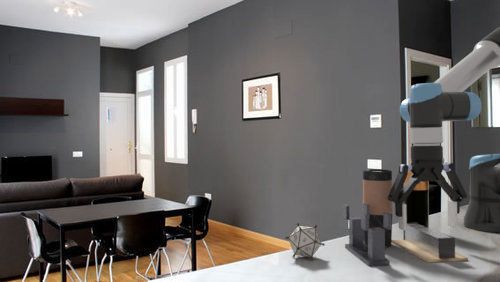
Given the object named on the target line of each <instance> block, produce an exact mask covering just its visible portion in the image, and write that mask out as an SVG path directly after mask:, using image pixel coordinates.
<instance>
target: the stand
mask: <svg viewBox="0 0 500 282" xmlns="http://www.w3.org/2000/svg"><path fill="white" fill-rule="evenodd" d="M360 213H361V214H360V216H355V217H353V216H351V217H350V205H348V204H346V203H344V204H343V205H342V214H343V215H342V218H343V219H345V220H347V221H348V243H344V248H345V249H346V250H347V251H349V252H350V253H351V254H353V255H354V256H355V257H356V258H358V259H359V260H360V261H362V262H363V263H364V264H365V265H366V266H368V267H377V266H380V267H381V266H390V265H391V263H390V262H391V261H390V260H389V259H388V258H386V247H385V230H384V229H382V228H380V227H379V228H369V219H370V205H368V204H363V203H362V212H360ZM383 227H384V228H386V229H388V230H393V224H392V225H391V214H390V213H387V212H383ZM364 230H365V231H367V230H368V246H367V245H365V244H364Z"/></svg>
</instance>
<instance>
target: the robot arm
mask: <svg viewBox="0 0 500 282" xmlns="http://www.w3.org/2000/svg"><path fill="white" fill-rule="evenodd" d="M499 67H500V26H499V27H497V28H496V29H494V30H493V31H492V32H490V33H489V34H488V35H486V36H485V37H484V38H482V39H481V40H479V42H478V43H476V44H475V46H474V47H473V50H472V51H471V52H470V53H469V54H468V55H466V56H465V57H464V58H462V59H461V60H460V61H458V63H456V64H455V65H454V66H453V67H451V68H450V69H449V70H447V72H445V73H444V74H443V75H441V76H440V77H439V78H438V79H436V80H435V81H434V82H425V83H416V84H413V85H411V87H410V89H409V97H408V98H405V99H404V100H402V102H401V103H400V105H399V113H400V116H401V118H402V120H403V121H405V122H407V123H410V124H409V125H410V126H409V127H410V130H409V131H410V133H409V135H410V137H409V138H410V144H412V145H411V146H410V159H411V160H410V162H411V163H410V165H409V164H402V163H400V164H399V165H398V174H396V178H395V180H394V181H393V183H392V189H391V191H390V193H389V195H388V198H387V199H388V200H389V201H392V203H394V211H395V212H394V214H395V216H396V217H398V229H400V230H402V231H403V230H404V231H406V230H407V217H406V204H404V201H405V200H406V198H407V197H408V196H409V194H410V193H411V192H412V191H413V189H414V188H415V187H416V185H417V184H419V183H420V182H421V181H422V182H427V181H429V182H436V183H437V184H438V186H439V187H440V188H441V189H442V190H443V191H444V193H445V194H446V196H448V197H449V200H447V225H448V226H449V227H451V228H458V214H460V211H461V209H460V203H462V201H464V200H465V199H467V198H468V195H467V192H466V190H465V188H464V186H463V184H462V182H461V180H460V178H459V176H458V174H457V172H456V167H455V163H454V162H444V163H443V159H444V147H443V146H442V145H441V144H443V142H444V139H443V138H444V136H443V122H456V121H457V122H459V121H460V122H466V121H472V120H475V119H476V118H478V116H479V115H480V114H481V111H482V108H483V107H482V105H483V104H482V100H481V98H480V96H478V95H477V94H476V93H475V92H469V91H466V90H467V89H468V88H469V87H470V86H472V85H473V84H474V83H475V82H477V80H479V79H480V78H481V77H483V76H484V75H485V74H486V73H487V72H488V71H489V70H491V69H496V68H499ZM410 170H411V172H412V173H413V174H412V175H411V176H410V178H409V181H408V182H407V183H406V185H405V186H404V182H405V180H406V178H407V175H408V173H409V172H410ZM468 170H469V171H468V175H469V176H468V177H469V178H468V179H469V181H468V182H469V185H468V186H469V202H468V205H467V208H466V210H465V214H464V216H463V226H465V227H467V228H469V229H473V230H477V231H484V232H492V233H500V153H491V154H490V153H489V154H479V155H475V156H472V157H471V158H470V159H469V168H468ZM443 171H444V172H445V174H446V177H447V178H448V180H449V181H447V179H446V178H445V176H444V175H443V174H442V172H443ZM448 182H450V183H448Z"/></svg>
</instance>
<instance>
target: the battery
mask: <svg viewBox="0 0 500 282" xmlns="http://www.w3.org/2000/svg"><path fill="white" fill-rule="evenodd" d="M412 174H413V173H412V172H411V170H410V172H409V173H408V175H407V178H406V180H405V182H404V184H403V187H404V186H405V185H406V183H407V182H408V181H409V178H410V176H411V175H412ZM429 182H430V181H427V182H422V181H421V182H420V183H419V184H417V185H416V187H415V188H414V189H413V191H412V192H411V193H410V194H409V196H408V197H407V198H406V200H405V201H404V202H403V204H406V217H407V223H414V222H417V224H419V225H422V226H424V227H427V228H429V229H430V227H429V226H430V221H429V220H430V218H429V216H430V215H429V213H430V212H429V211H430V209H429V208H430V207H429V205H430V203H429V202H430V201H429V196H430V194H429V189H430V187H429V186H430V185H429V184H430V183H429Z"/></svg>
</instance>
